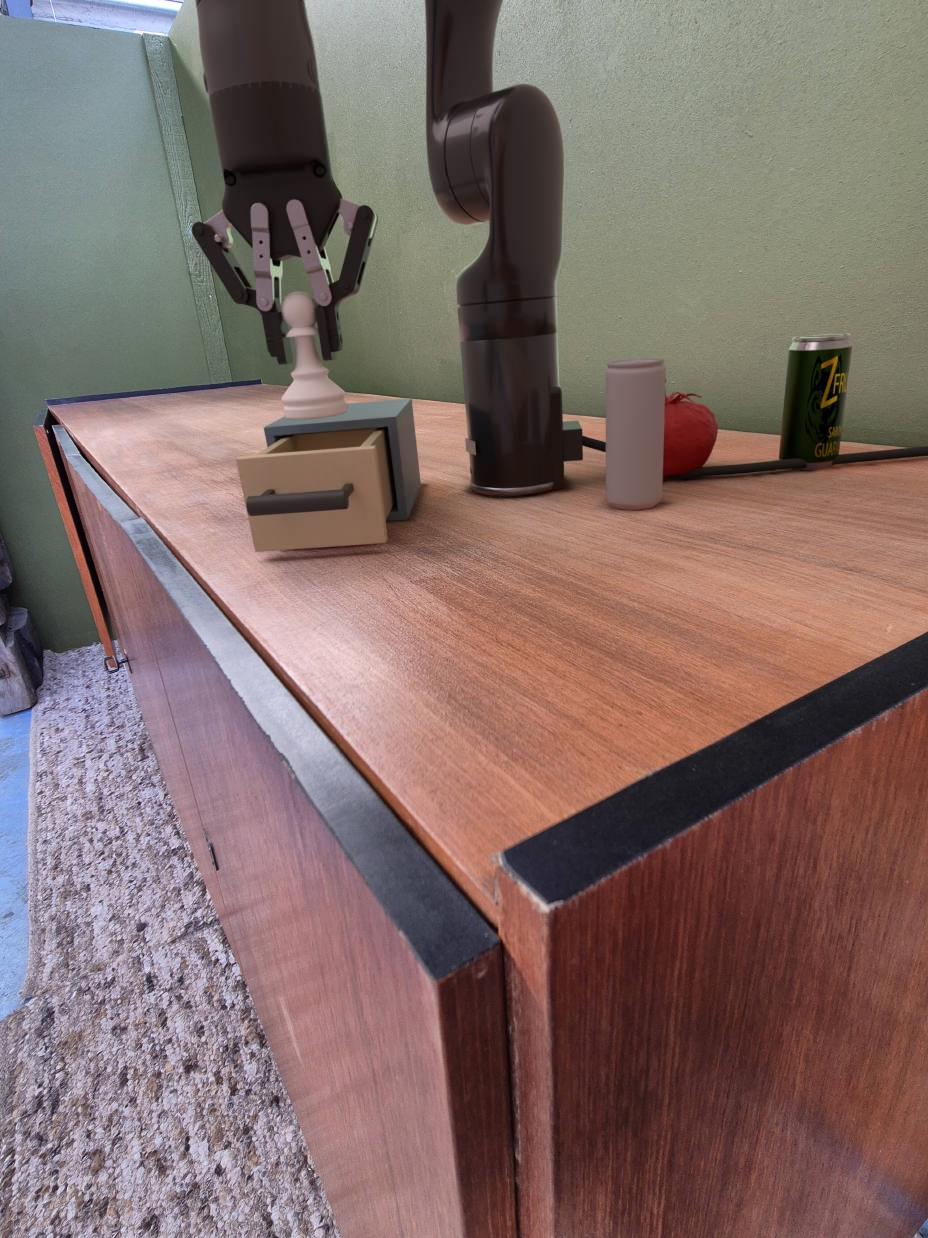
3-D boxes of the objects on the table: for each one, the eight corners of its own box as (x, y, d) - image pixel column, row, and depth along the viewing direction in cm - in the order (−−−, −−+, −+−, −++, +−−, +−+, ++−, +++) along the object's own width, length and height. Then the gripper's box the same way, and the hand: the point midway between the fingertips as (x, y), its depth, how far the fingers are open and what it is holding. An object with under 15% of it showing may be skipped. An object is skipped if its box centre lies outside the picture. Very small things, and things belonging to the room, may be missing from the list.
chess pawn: (300, 421, 54) (279, 290, 50) (274, 417, 57) (252, 295, 54) (359, 412, 56) (342, 286, 53) (330, 409, 60) (312, 291, 56)
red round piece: (723, 481, 68) (730, 379, 64) (616, 487, 69) (616, 386, 65) (705, 460, 77) (710, 369, 73) (610, 465, 78) (610, 376, 74)
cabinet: (407, 519, 64) (395, 416, 61) (282, 528, 65) (263, 427, 62) (421, 485, 77) (411, 398, 73) (315, 493, 78) (301, 407, 74)
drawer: (377, 562, 51) (363, 459, 48) (236, 571, 52) (214, 471, 49) (403, 502, 67) (394, 422, 64) (294, 510, 67) (280, 432, 64)
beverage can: (663, 510, 60) (667, 360, 56) (605, 511, 61) (604, 365, 57) (660, 496, 65) (664, 355, 60) (606, 497, 66) (606, 360, 61)
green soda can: (767, 466, 72) (777, 339, 67) (797, 457, 74) (810, 333, 70) (818, 473, 68) (833, 337, 63) (848, 462, 70) (865, 332, 66)
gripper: (375, 96, 51) (402, 351, 58) (186, 117, 52) (235, 365, 59) (358, 63, 44) (391, 357, 51) (140, 87, 45) (201, 373, 52)
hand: (307, 360), depth 55 cm, fingers closed on chess pawn, 3 cm apart
